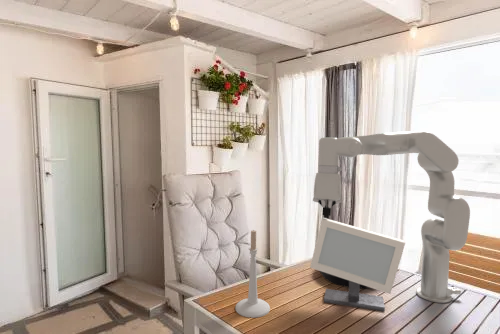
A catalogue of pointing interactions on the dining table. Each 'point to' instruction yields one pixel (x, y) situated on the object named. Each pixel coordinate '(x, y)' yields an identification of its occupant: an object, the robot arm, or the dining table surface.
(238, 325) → the dining table surface
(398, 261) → the picture frame
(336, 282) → the round tray
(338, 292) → the frame stand
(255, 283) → the candlestick
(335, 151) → the robot arm
